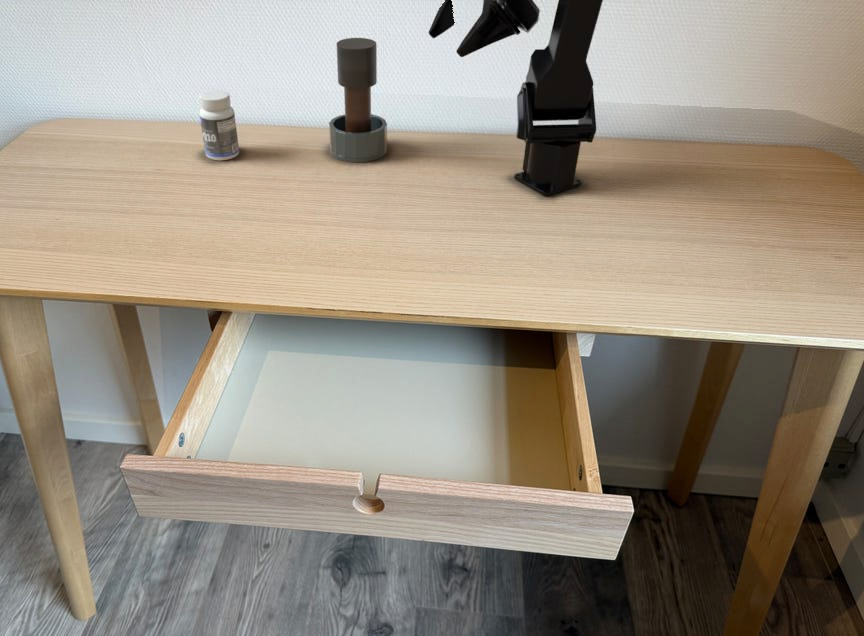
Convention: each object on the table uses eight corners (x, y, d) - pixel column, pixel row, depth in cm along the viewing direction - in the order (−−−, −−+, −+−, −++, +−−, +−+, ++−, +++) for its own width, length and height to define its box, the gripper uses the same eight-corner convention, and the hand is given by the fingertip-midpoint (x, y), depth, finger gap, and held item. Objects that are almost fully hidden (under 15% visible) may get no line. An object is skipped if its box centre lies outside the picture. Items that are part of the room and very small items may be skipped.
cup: (397, 154, 101) (397, 126, 98) (348, 167, 98) (347, 138, 95) (368, 135, 106) (367, 109, 104) (320, 147, 103) (319, 119, 100)
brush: (383, 149, 101) (384, 45, 92) (351, 157, 99) (349, 51, 90) (365, 137, 104) (363, 35, 95) (333, 144, 102) (329, 41, 93)
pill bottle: (199, 153, 101) (189, 93, 96) (228, 145, 103) (220, 86, 98) (216, 164, 98) (207, 103, 93) (246, 155, 101) (238, 95, 95)
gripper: (459, -114, 93) (380, -14, 97) (530, -95, 80) (434, 20, 84) (506, -49, 100) (431, 41, 104) (578, -22, 87) (488, 81, 91)
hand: (444, 45), depth 96 cm, fingers open, 9 cm apart
